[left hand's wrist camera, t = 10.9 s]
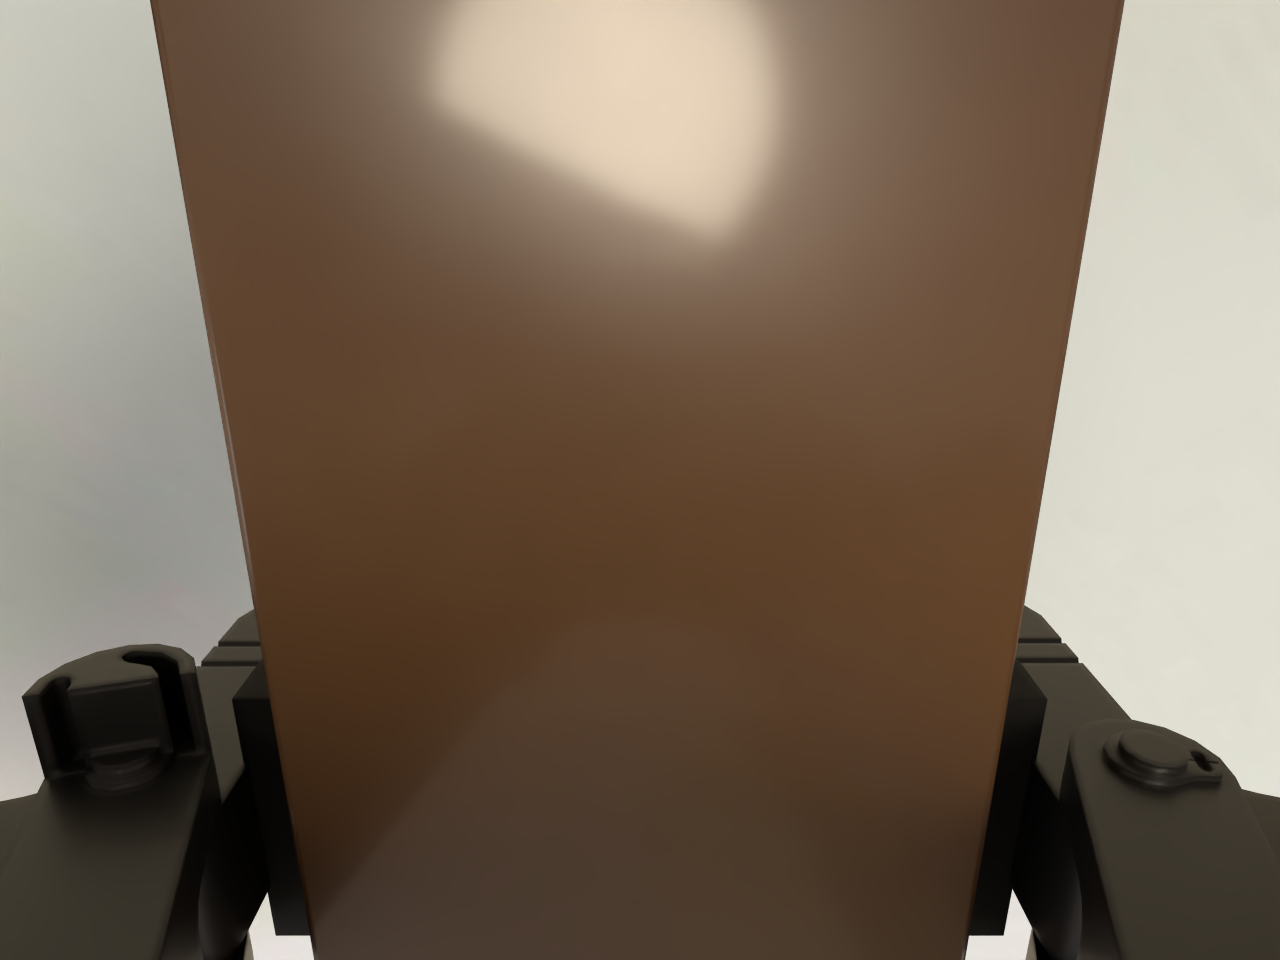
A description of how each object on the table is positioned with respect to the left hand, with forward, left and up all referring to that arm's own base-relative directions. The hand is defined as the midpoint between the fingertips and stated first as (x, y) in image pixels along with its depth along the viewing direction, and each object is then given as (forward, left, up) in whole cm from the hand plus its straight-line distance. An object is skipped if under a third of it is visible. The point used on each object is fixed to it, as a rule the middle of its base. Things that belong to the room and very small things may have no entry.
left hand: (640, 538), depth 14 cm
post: (-3, +27, -1) cm, 27 cm away
